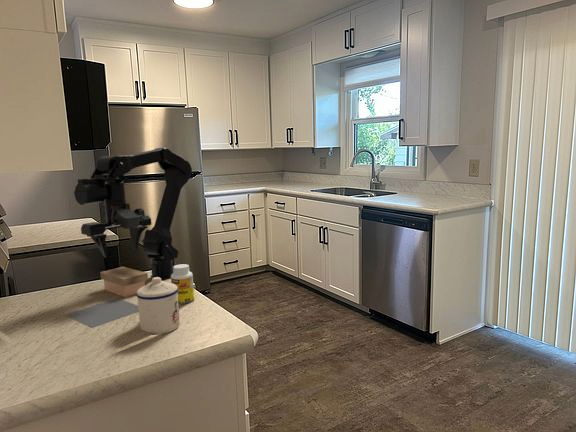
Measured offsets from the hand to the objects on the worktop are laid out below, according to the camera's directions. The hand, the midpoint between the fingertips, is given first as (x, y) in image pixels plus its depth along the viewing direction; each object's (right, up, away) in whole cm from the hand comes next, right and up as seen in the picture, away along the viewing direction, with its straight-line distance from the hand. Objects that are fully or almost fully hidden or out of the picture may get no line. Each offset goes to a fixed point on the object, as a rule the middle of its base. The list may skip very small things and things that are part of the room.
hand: (120, 253), depth 122 cm
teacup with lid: (+19, -14, -25) cm, 34 cm away
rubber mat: (+3, -14, -17) cm, 22 cm away
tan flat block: (+1, -7, -1) cm, 7 cm away
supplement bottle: (+21, -12, -11) cm, 27 cm away
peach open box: (+1, -11, 0) cm, 11 cm away
